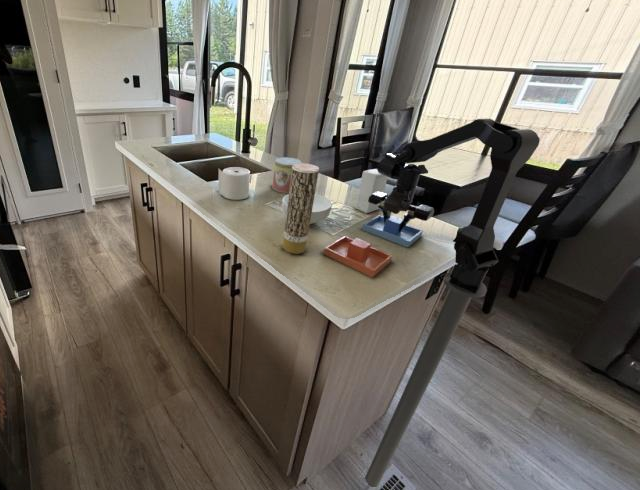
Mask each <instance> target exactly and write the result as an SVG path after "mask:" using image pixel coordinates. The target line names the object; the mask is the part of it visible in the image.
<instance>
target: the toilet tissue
mask: <svg viewBox="0 0 640 490" xmlns="http://www.w3.org/2000/svg"><path fill="white" fill-rule="evenodd" d="M217 178H218V179H217V180H218V181H217V182H218V183H217V184H218V189H217V190H218V192H219V194H220V195H222V196H223V198H226V199H228V200H234V201H237V200H238V201H239V200H245V199H247V198H249V196H250V194H249V193H250V179H251V170H249V169H248V168H246V167H241V166H232V167H231V166H230V167H225V168H224V169H223V170H221V169H220V168H218V177H217Z"/></svg>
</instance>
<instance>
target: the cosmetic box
mask: <svg viewBox="0 0 640 490" xmlns="http://www.w3.org/2000/svg"><path fill="white" fill-rule="evenodd" d="M388 178H389V177H387V176H385V175H382V174H380V173H379V172H378V171H377V168H372V169H367V170H363V171H362V174H361V179H360V183H359V188H358V192H357V196H356V202H355V206H354V208H355V209H356V210H359V211H361V212H363V213H365V214H369V213H372V212H374V211H379V210H381V209H380V208H378V206H379V204H380V203H379V204H377V205H375V204H372V203H369V202H368V199H369V196H370V195H371V194H373V193H375V192H377V191H380V192H383V193H385V190H386V186H387V181H388Z"/></svg>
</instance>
